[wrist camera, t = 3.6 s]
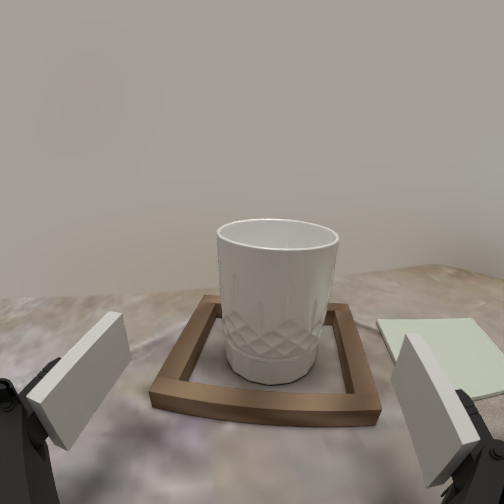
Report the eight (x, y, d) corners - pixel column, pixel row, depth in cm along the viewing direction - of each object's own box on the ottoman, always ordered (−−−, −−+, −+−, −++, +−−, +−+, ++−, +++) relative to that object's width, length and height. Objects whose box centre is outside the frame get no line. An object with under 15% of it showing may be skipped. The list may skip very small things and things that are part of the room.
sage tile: (470, 321, 26) (471, 317, 26) (525, 387, 15) (527, 383, 14) (376, 322, 27) (376, 319, 27) (413, 410, 16) (415, 406, 16)
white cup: (297, 405, 17) (317, 258, 14) (198, 366, 21) (190, 234, 18) (333, 345, 24) (350, 228, 21) (251, 322, 28) (254, 214, 25)
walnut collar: (345, 317, 28) (347, 303, 28) (375, 424, 15) (382, 409, 15) (204, 308, 30) (204, 294, 29) (152, 407, 17) (148, 390, 16)
